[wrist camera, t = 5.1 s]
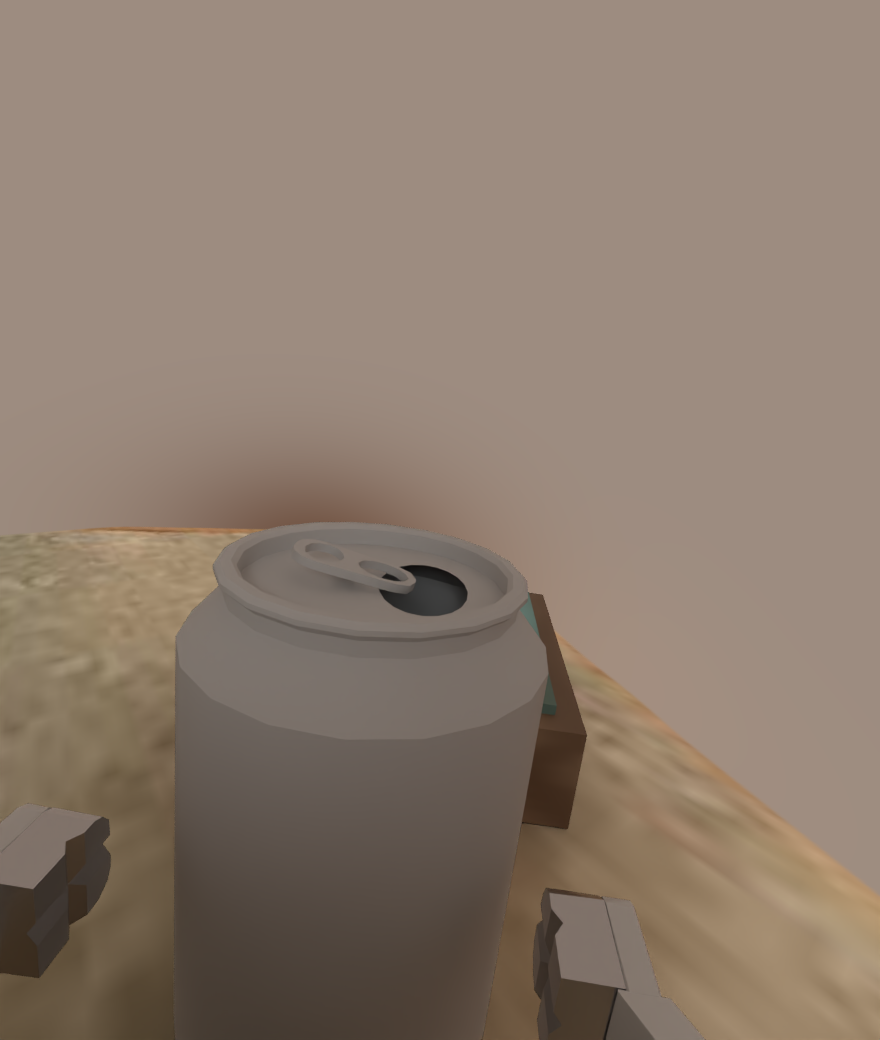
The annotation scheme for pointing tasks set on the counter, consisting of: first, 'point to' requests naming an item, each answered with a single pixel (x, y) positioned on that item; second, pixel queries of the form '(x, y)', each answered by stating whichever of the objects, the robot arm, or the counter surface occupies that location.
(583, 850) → the counter surface
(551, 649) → the plinth
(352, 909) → the can
